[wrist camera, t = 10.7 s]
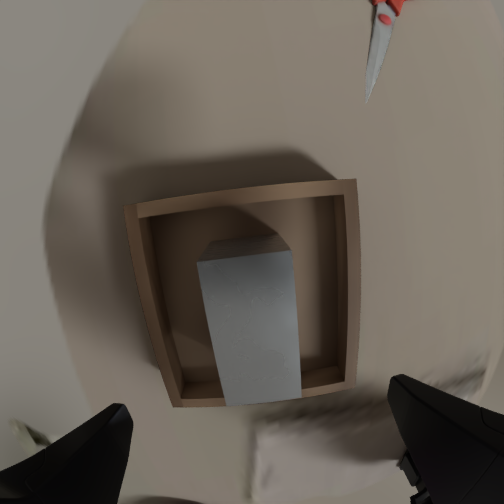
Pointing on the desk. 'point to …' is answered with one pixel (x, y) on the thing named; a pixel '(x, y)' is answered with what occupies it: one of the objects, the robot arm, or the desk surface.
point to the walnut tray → (245, 225)
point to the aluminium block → (252, 317)
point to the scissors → (380, 38)
